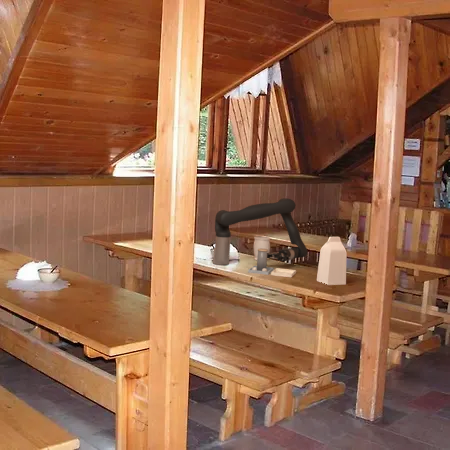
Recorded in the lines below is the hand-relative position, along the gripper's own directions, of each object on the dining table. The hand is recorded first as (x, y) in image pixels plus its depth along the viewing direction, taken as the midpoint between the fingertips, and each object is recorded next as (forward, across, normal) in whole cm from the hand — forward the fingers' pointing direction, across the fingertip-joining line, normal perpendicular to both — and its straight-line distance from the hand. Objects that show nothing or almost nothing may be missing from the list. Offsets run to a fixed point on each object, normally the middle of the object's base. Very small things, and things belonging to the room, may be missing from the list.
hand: (272, 257), depth 403 cm
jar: (-25, -24, +8) cm, 35 cm away
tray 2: (+7, +13, +8) cm, 17 cm away
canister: (+11, 0, +7) cm, 13 cm away
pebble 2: (+15, +5, +7) cm, 17 cm away
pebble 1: (+17, -1, +7) cm, 19 cm away
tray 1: (+12, 0, +8) cm, 14 cm away
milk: (+3, +42, +8) cm, 43 cm away
